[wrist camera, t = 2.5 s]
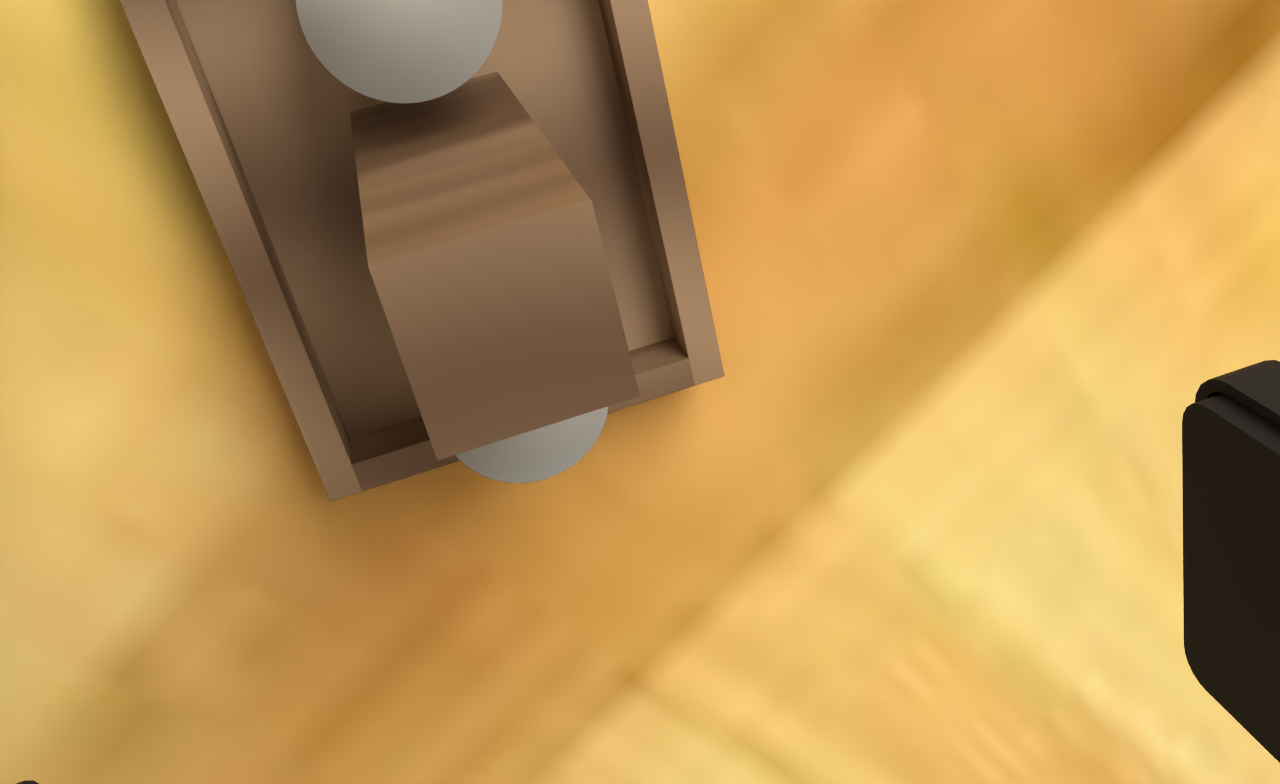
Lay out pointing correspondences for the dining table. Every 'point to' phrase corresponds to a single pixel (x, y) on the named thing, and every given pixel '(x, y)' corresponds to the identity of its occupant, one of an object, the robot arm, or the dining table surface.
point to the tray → (443, 219)
